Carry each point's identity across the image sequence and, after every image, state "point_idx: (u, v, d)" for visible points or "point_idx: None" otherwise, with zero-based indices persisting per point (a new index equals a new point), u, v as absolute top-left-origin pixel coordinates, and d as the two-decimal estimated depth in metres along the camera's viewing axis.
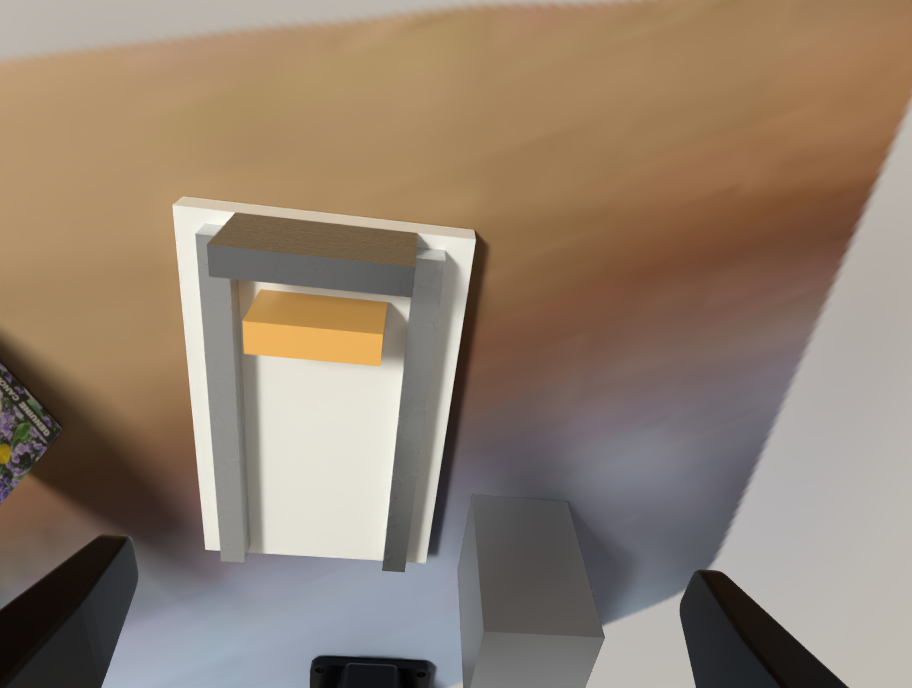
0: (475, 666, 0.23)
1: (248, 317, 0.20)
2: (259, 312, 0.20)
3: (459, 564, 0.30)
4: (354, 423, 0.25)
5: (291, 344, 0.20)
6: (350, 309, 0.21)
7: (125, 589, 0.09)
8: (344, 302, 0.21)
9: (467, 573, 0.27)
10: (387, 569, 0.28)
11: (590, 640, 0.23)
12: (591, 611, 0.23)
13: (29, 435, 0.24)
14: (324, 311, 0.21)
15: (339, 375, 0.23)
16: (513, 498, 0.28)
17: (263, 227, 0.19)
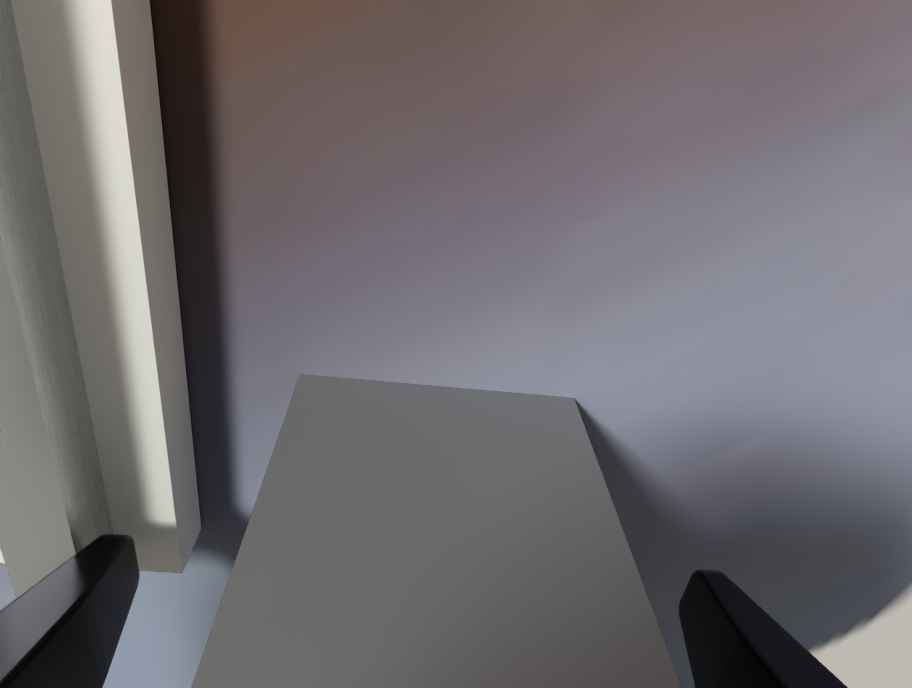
0: None
1: None
2: None
3: None
4: None
5: None
6: None
7: (126, 589, 0.09)
8: None
9: None
10: None
11: None
12: None
13: None
14: None
15: None
16: (420, 387, 0.10)
17: None
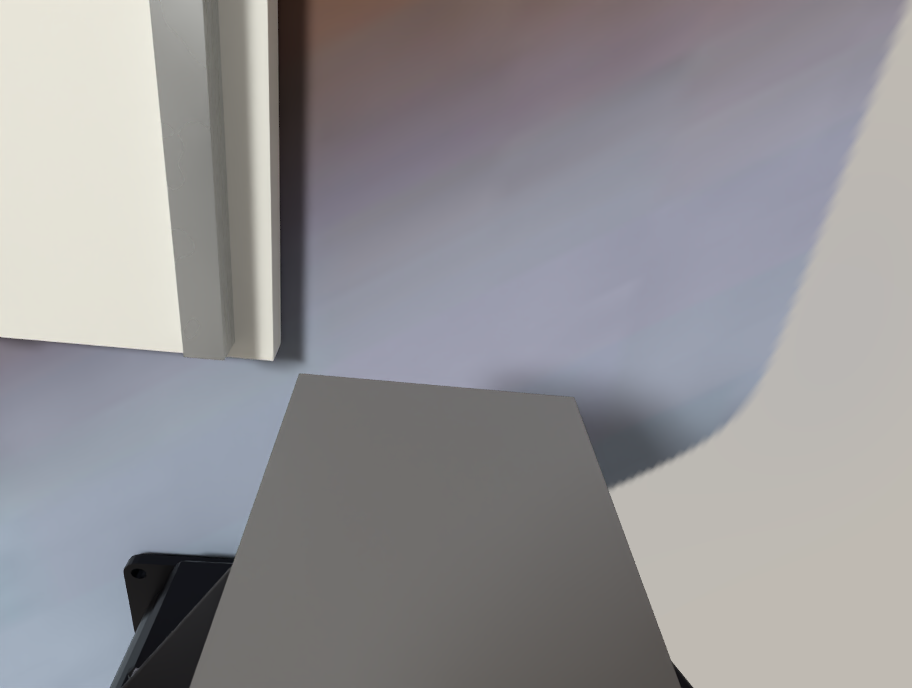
0: None
1: None
2: None
3: None
4: (85, 25, 0.13)
5: None
6: None
7: None
8: None
9: None
10: (193, 356, 0.16)
11: None
12: None
13: None
14: None
15: None
16: (419, 387, 0.10)
17: None
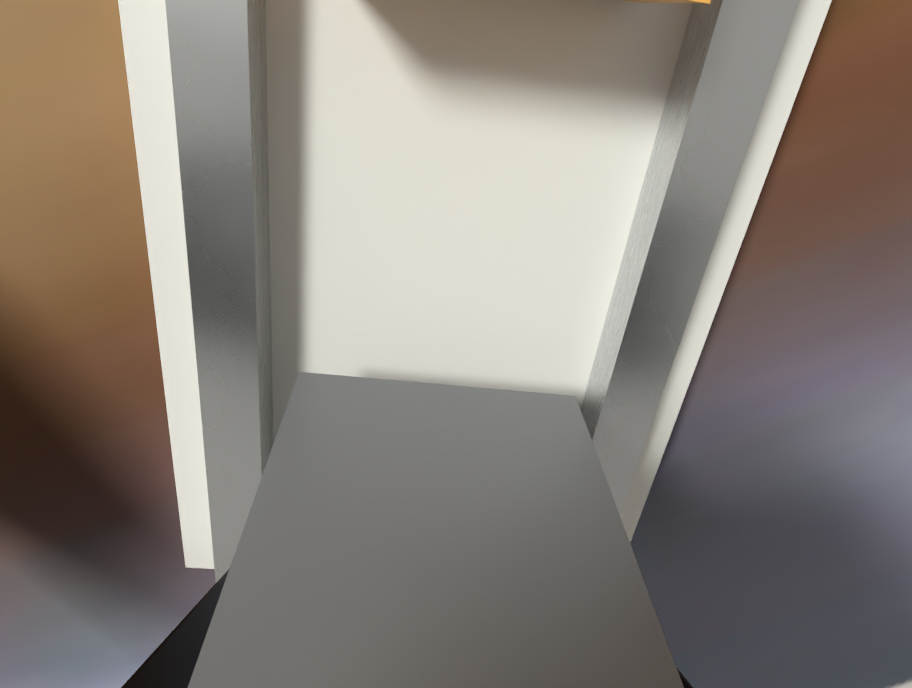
0: None
1: None
2: None
3: None
4: (518, 282, 0.11)
5: None
6: None
7: None
8: None
9: None
10: None
11: None
12: None
13: None
14: None
15: (502, 147, 0.10)
16: (419, 385, 0.10)
17: None
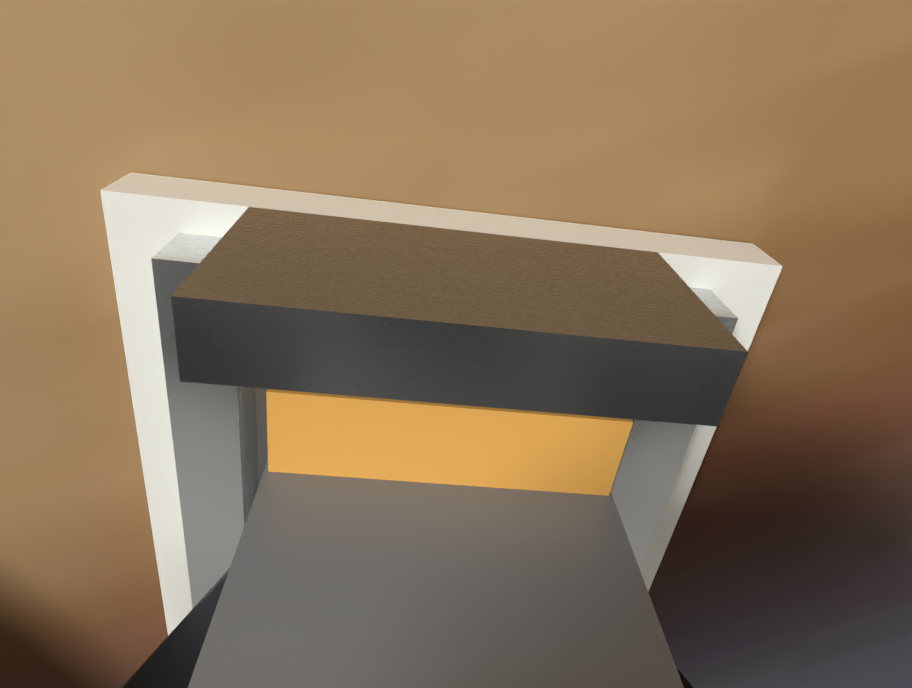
0: None
1: None
2: None
3: None
4: None
5: (392, 448, 0.08)
6: None
7: None
8: None
9: None
10: None
11: None
12: None
13: None
14: None
15: None
16: None
17: (318, 242, 0.08)
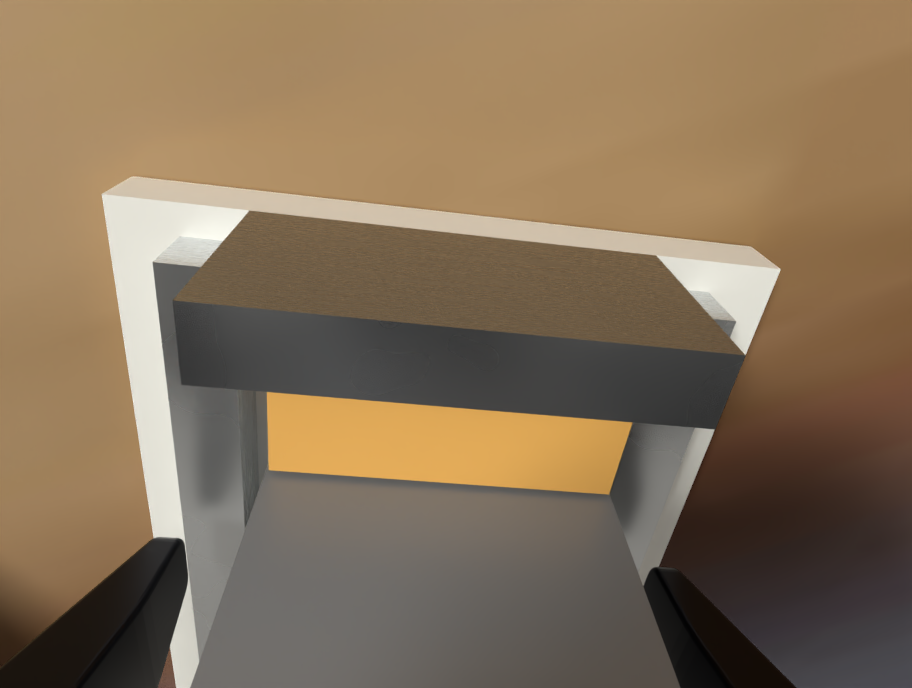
0: None
1: None
2: None
3: None
4: None
5: (392, 446, 0.08)
6: None
7: (177, 592, 0.09)
8: None
9: None
10: None
11: None
12: None
13: None
14: None
15: None
16: None
17: (319, 246, 0.08)
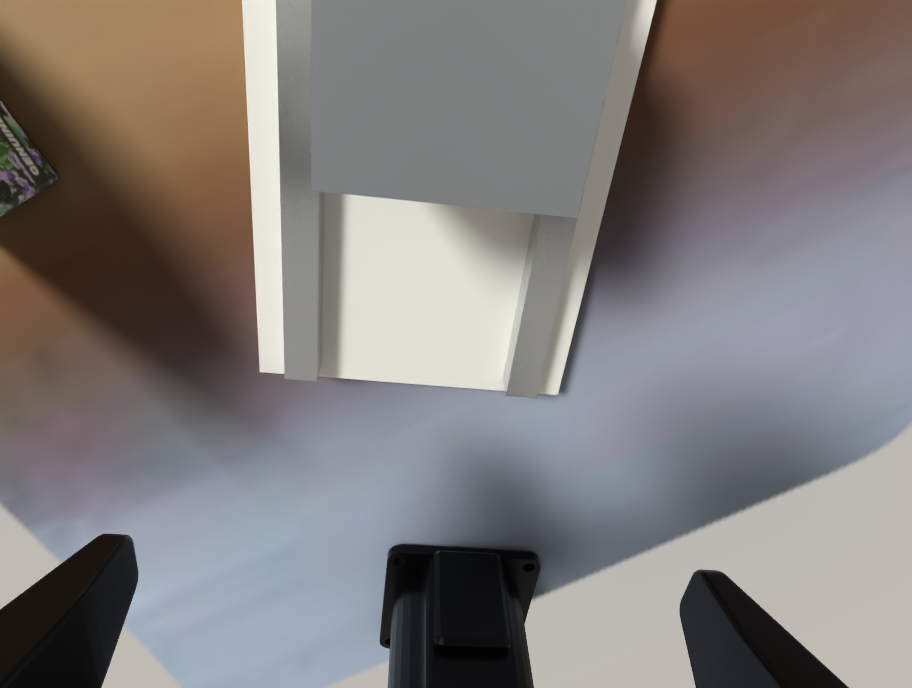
0: None
1: None
2: None
3: None
4: None
5: None
6: None
7: (125, 589, 0.09)
8: None
9: None
10: (512, 394, 0.20)
11: None
12: None
13: (8, 161, 0.16)
14: None
15: None
16: None
17: None
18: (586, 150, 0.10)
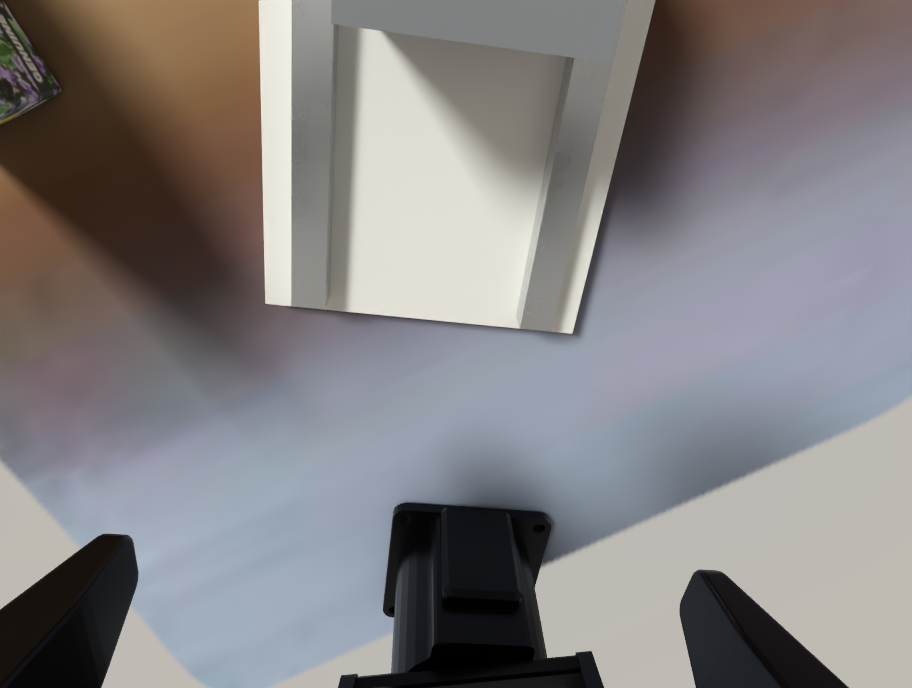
0: None
1: None
2: None
3: None
4: (500, 65, 0.16)
5: None
6: None
7: (125, 589, 0.09)
8: None
9: None
10: (526, 328, 0.19)
11: None
12: None
13: (11, 61, 0.15)
14: None
15: None
16: None
17: None
18: None
